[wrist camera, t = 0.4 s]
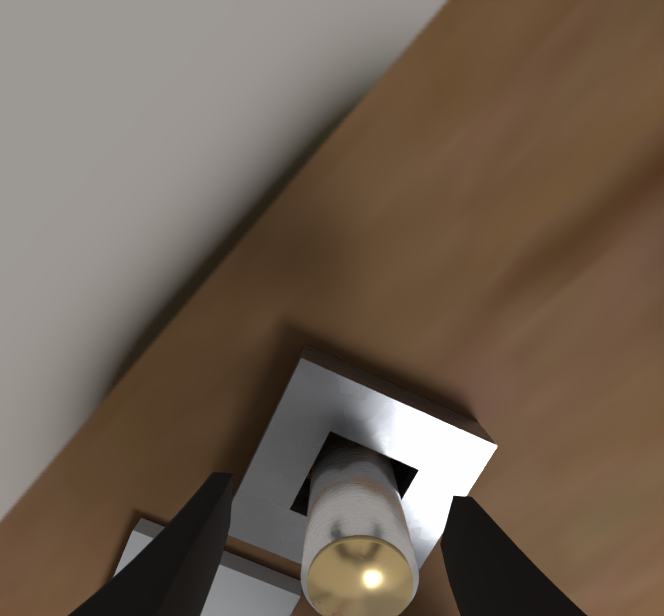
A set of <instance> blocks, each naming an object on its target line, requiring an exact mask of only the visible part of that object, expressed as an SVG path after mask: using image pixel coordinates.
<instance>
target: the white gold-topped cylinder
mask: <svg viewBox="0 0 664 616" xmlns="http://www.w3.org/2000/svg"><path fill="white" fill-rule="evenodd" d="M418 583H419V572H418V567H417V563H416V559H415V555H414V551H413V547H412V543H411V539H410V535H409V531H408V527H407V523H406V519H405V515H404V511H403V507H402V503H401V499H400V495H399V491H398V488H397V484H396V480H395V476H394V472H393V468H392V464H391V460H390V457H389V456H386V455H384V454H382V453H379V452H377V451H375V450H373V449H370V448H368V447H366V446H363V445H361V444H359V443H357V442H354V441H352V440H350V439H347V438H345V437H343V436H340V435H338V434H336V433H334V432H330V433H329V434H328V436H327V438H326V440H325V442H324V444H323V446H322V448H321V449H320V451H319V453H318V455H317V457H316V459H315V461H314V463H313V465H312V474H311V484H310V493H309V502H308V512H307V521H306V531H305V540H304V550H303V559H302V569H301V585H302V589H303V592H304V595H305V597H306V598H307V600H308V602H309V603H310V604H311V606H312V607H313V608H314V609H315V610H316V611H317V612H319V613H320V614H321V615H322V616H398V615H399V614H400V613H401V612H402V611H403V610H404V609H405V608H406V607H407V606H408V605H409V604H410V602H411V601H412V599H413V598H414V596H415V594H416V591H417V588H418Z"/></svg>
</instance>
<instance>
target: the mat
mask: <svg viewBox="0 0 664 616" xmlns="http://www.w3.org/2000/svg"><path fill="white" fill-rule="evenodd" d="M164 528H165V527H164V526H161V525H159V524H156V523H154V522H151V521H149V520H146V519H143V518H141V519H140V521H139V522H138V523H137V525H136V526H135V528H134V529H133V531H132V533H131V536H130V538H129V540H128V543H127V545H126V548H125V550H124V552H123V555H122V557H121V560H120V562H119V564H118V567H117V569H116V572H115V574H114V576H115V575H116V574H117V573H118V572H120V571H121V570H122V569H123V568H124V567H125V566H126V565H127V564H128V563H129V562H130V561H131V560H133V559H134V558H135V557H136V556H137V555H138V554H139V553H140V552H141V551H142V550H143V549H144V548H145V547H146V546H147V545H148V544H149V543H150V542H151V541H152V540H153V539H154V538H155V537H156V536H157V535H158V534H159V533H160V532H161V531H162V530H163V529H164ZM114 576H113V577H114ZM301 589H302V585H301V581H300V580H297V579H295V578H292V577H290V576H287V575H284V574H282V573H279V572H277V571H274V570H272V569H269V568H267V567H264V566H262V565H259V564H257V563H254V562H252V561H249V560H247V559H244V558H242V557H239V556H237V555H234V554H232V553H229V552H227V551H224V550H223V554H222V558H221V561H220V564H219V567H218V570H217V572H216V575H215V578H214V581H213V583H212V586H211V589H210V591H209V594H208V597H207V599H206V602H205V605H204V607H203V610H202V613H201V615H200V616H290V615H291V613H292V611H293V609H294V608H295V606H296V604H297V602H298V600H299V599H300V597H301Z"/></svg>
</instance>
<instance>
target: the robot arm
mask: <svg viewBox="0 0 664 616" xmlns="http://www.w3.org/2000/svg"><path fill="white" fill-rule="evenodd" d="M232 488H233V474H230V473H219V472H214V473H212V474H211V475H210V476H209V477H208V479H207V480H206V481H205V482H204V484H203V485H202V486H201V487H200V488H199V490H198V491H197V492H196V493H195V494H194V496H193V497H192V498H191V499H190V500H189V501H188V502H187V504H186V505H185V506H184V507H183V508H182V509H181V510H180V511H179V512H178V514H177V515H176V516H175V517H174V518H173V519H172V520H171V521H170V522H169V523H168V524H167V525H166V527H165V528H164V529H163V530H162V531H161V532H160V533H159V534H158V535H157V536H156V537H155V538H154V539H153V540H152V541H151V542H150V543H149V544H148V545H147V546H146V547H145V548H144V549H143V550H142V551H141V552H140V553H139V554H138V555H137V556H136V557H135V558H134V559H133V560H131V561H130V562H129V563H128V564H127V565H126V566H125V567H124V568H123V569H122V570H121V571H120V572H118V573H117V574H116V575H115V576H114V577H113V578H112V579H111V580H110V581H108V582H107V583H106V584H105V585H104V586H103V587H102V588H100V589H99V590H98V591H97V592H96V593H95V594H93V595H92V596H91V597H90V598H89V599H87V600H86V601H85V602H84V603H83V604H81V605H80V606H79V607H78V608H76V609H75V610H74V611H73V612H72V613H70V614H69V615H68V616H200V615H201V613H202V610H203V607H204V605H205V602H206V599H207V597H208V594H209V591H210V589H211V586H212V583H213V581H214V578H215V575H216V572H217V570H218V567H219V564H220V561H221V558H222V554H223V550H224V547H225V543H226V539H227V536H228V532H229V528H230V522H231V505H232ZM440 545H441V549H442V554H443V558H444V563H445V567H446V571H447V575H448V579H449V583H450V586H451V589H452V592H453V595H454V597H455V600H456V603H457V606H458V609H459V612H460V615H461V616H587V615H586V614H585V613H584V612H583V611H582V610H580V609H579V608H578V607H577V606H576V605H575V604H574V603H573V602H572V601H571V600H570V599H569V598H568V597H567V596H566V595H565V594H564V593H563V592H562V591H561V590H559V589H558V588H557V587H556V586H555V585H554V584H553V583H552V582H551V581H550V580H549V579H548V578H547V577H546V576H545V575H544V574H543V573H542V572H541V571H540V570H539V569H538V568H537V567H536V566H535V565H534V564H533V562H532V561H531V560H530V559H529V558H528V557H527V556H526V555H525V554H524V553H523V552H522V551H521V550H520V549H519V548H518V547H517V546H516V545H515V543H514V542H513V541H512V540H511V539H510V538H509V537H508V536H507V535H506V534H505V533H504V532H503V530H502V529H501V528H500V527H499V526H498V525H497V524H496V523H495V522H494V521H493V519H492V518H491V517H490V516H489V515H488V514H487V513H486V512H485V511H484V510H483V509H482V507H481V506H480V505H479V504H478V503H477V502H476V501H475V500H474V499H473V498H472V497H468V496H458V495H453V498H452V502H451V505H450V509H449V513H448V517H447V521H446V524H445V528H444V532H443V536H442V539H441V543H440Z"/></svg>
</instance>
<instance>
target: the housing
mask: <svg viewBox="0 0 664 616" xmlns="http://www.w3.org/2000/svg"><path fill="white" fill-rule="evenodd" d="M330 431H331V432H334V433H336V434H338V435H340V436H343V437H345V438H347V439H350V440H352V441H354V442H357V443H359V444H361V445H363V446H366V447H368V448H370V449H373V450H375V451H377V452H379V453H382V454H384V455H386V456H389V457H391V458H393V459H396V460H398V461H400V462H399V463H398V465H397V467H396V469H395V470H394V476H395V480H396V484H397V488H398V491H399V495H400V499H401V503H402V507H403V511H404V515H405V519H406V523H407V527H408V531H409V535H410V539H411V543H412V547H413V551H414V555H415V559H416V563H417V567H418V571H419V569H420V568H421V566H422V564H423V563H424V561H425V560H426V558H427V557H428V555H429V553H430V552H431V550H432V549H433V547H434V546H435V544H436V542H437V541H438V539H439V538H440V536H441V534H442V533H443V531H444V528H445V524H446V521H447V517H448V513H449V509H450V505H451V502H452V498H453V495H458V496H466V495H467V493H468V492H469V490H470V489H471V487H472V485H473V484H474V482H475V481H476V479H477V477H478V476H479V474H480V473H481V471H482V470H483V468H484V466H485V465H486V463H487V462H488V460H489V458H490V457H491V455H492V454H493V452H494V451H495V449H496V447H497V445H496V444H495V442H494V441H493V440H492V439H491V437H490V436H489V435H488V434H487V432H486V431H485V430H484V429H483V427H482V426H481V425H480V424H479V422H477V421H474V420H472V419H470V418H468V417H466V416H463V415H461V414H459V413H457V412H455V411H452V410H450V409H448V408H446V407H444V406H441V405H439V404H437V403H435V402H433V401H430V400H428V399H426V398H424V397H421V396H419V395H417V394H415V393H413V392H410V391H408V390H406V389H404V388H402V387H399V386H397V385H395V384H393V383H391V382H388V381H386V380H384V379H382V378H380V377H377V376H375V375H373V374H371V373H369V372H366V371H364V370H362V369H360V368H358V367H355V366H353V365H351V364H349V363H347V362H344V361H342V360H340V359H338V358H335V357H333V356H331V355H329V354H327V353H324V352H322V351H320V350H318V349H316V348H313V347H311V346H309V345H307V344H305V346H304V348H303V350H302V352H301V354H300V356H299V358H298V361H297V363H296V365H295V367H294V369H293V371H292V373H291V375H290V377H289V380H288V382H287V384H286V386H285V388H284V390H283V392H282V394H281V396H280V398H279V401H278V403H277V405H276V407H275V409H274V411H273V413H272V415H271V417H270V420H269V422H268V424H267V426H266V428H265V430H264V432H263V434H262V436H261V438H260V441H259V443H258V445H257V447H256V449H255V451H254V453H253V455H252V457H251V460H250V462H249V464H248V466H247V468H246V470H245V472H244V474H243V476H242V479H241V481H240V483H239V485H238V487H237V489H236V491H235V493H234V495H233V497H232V505H231V522H230V528H229V532H228V535H229V536H232V537H234V538H237V539H239V540H242V541H244V542H247V543H249V544H252V545H254V546H257V547H259V548H262V549H264V550H267V551H269V552H272V553H274V554H277V555H279V556H282V557H284V558H287V559H289V560H292V561H294V562H296V563H299V564H301V565H302V559H303V550H304V540H305V531H306V521H307V512H308V502H309V493H310V486H308V485H306V484H304V483H303V482H304V480H305V478H306V477H307V475H308V473H309V471H310V469H311V467H312V465H313V463H314V461H315V459H316V457H317V455H318V453H319V451H320V449H321V448H322V446H323V444H324V442H325V440H326V438H327V436H328V434H329V432H330Z"/></svg>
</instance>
